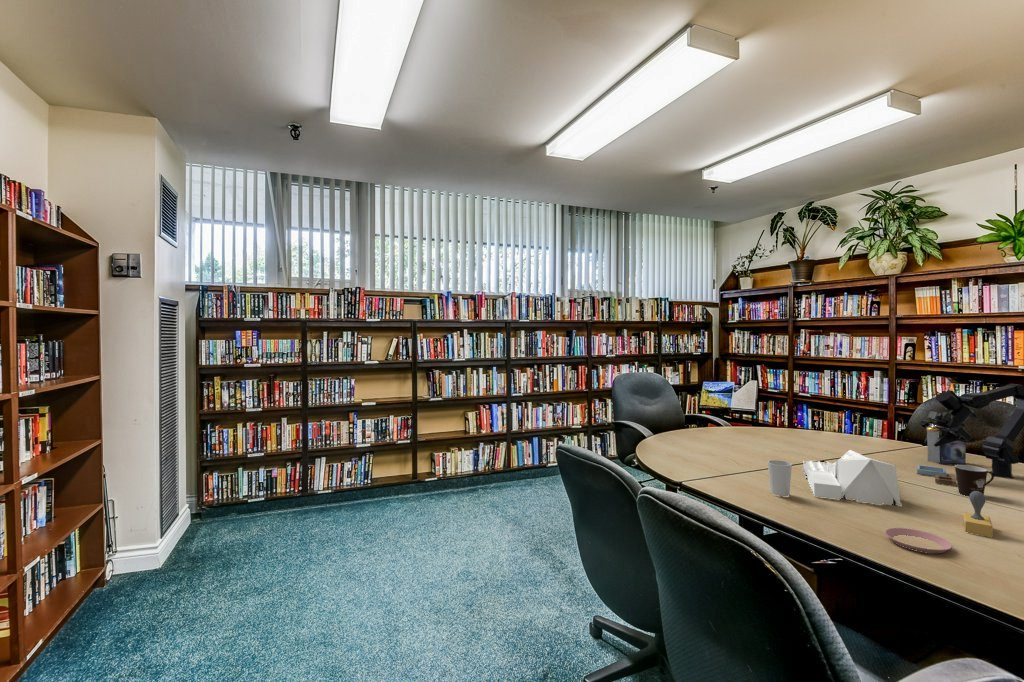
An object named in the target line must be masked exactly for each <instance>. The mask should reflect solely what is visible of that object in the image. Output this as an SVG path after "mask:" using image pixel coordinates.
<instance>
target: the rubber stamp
mask: <svg viewBox="0 0 1024 682" xmlns="http://www.w3.org/2000/svg"><path fill="white" fill-rule="evenodd" d="M968 498H969V501H970V504H971V505H972V507H973V509H974V513H973V512H968V511H964V512H963V514H962V515H963V517H962V518H963V519H962V521H963V528H964V532H965V533H966V532H968V533H967V534H969V533H973V534H972V535H974V534H978V535H977V536H979V535H983V536H982V537H984V536H988V537H987V538H989V537H992V538H993V536H994V535H993V533H994V531H993V526H994V525H993V523H992V520H991V517H990V516H989V515H986V514H981V513H982V512H981V511H982V509H983V507H984V506H985V503H986V502H987V501H986V500H987V499H986V495H985V493H984V494H982V493H981V492H979V491H973V492H971V493H970V496H969V497H968Z"/></svg>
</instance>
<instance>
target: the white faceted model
mask: <svg viewBox="0 0 1024 682" xmlns="http://www.w3.org/2000/svg"><path fill="white" fill-rule="evenodd" d="M803 471H804V472H803ZM802 472H803V473H804V474H805V475H807V476H805V475H804V474H803V475H804V476H805V478H807V479H806V480H807V482H809V483H808V485H809V484H810V485H809V487H811V488H810V490H811V489H812V490H811V492H812V491H813V493H812V495H813V494H814V495H813V497H814V496H818V497H826V498H835V499H841V498H843V499H845V498H847V499H855V500H858V502H867V503H874V504H881V505H880V506H882V505H886V504H893V505H894V502H895V506H896V505H901V506H900V507H903V504H902V502H901V497H900V490H899V489H900V488H899V482H898V474H897V466H896V464H893V463H892V464H891V463H888V462H885V461H881V460H877V459H874V458H871V457H868V456H864V455H863V454H861V453H858V452H856V451H854V450H852V449H849V450H848V451H846V452H845V453H844V454H843V455H842V456H841V457H840V458H839V459H836V460H835V462H833V463H832V462H829V461H828V460H827V461H824V462H821V461H820V460H818V461H812V459H810V460H804V459H803V463H802ZM843 495H844V496H843ZM844 497H845V498H844ZM841 500H842V499H841ZM882 503H884V504H882Z"/></svg>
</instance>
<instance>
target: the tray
mask: <svg viewBox="0 0 1024 682" xmlns="http://www.w3.org/2000/svg"><path fill="white" fill-rule="evenodd" d="M916 467H917V468H916V469H917V470H916V471H917V472H916V475H918V474H922V475H921V476H925V475H928V476H927V477H932V476H935V475H938V476H945V477H947V470H946V468H944V467H938V466H931V465H930V466H929V465H921V464H917V465H916Z"/></svg>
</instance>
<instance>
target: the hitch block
mask: <svg viewBox="0 0 1024 682" xmlns="http://www.w3.org/2000/svg"><path fill="white" fill-rule="evenodd" d="M934 481H935V483H937V484H936V485H942V484H944V485H943V486H948V485H951V487H955V486H956V487H957V477H953V476H946V477H945V476H938V475H935V477H934Z"/></svg>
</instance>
